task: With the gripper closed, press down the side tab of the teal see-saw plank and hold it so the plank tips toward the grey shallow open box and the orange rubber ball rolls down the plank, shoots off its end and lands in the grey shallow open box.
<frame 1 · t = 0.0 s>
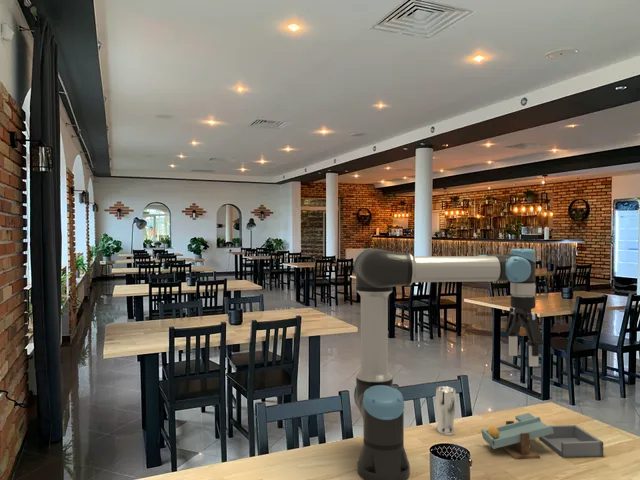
hand: (522, 360, 157), 28 cm above the table, fingers open, 13 cm apart
lever: (511, 427, 157), point 6 cm above the table, hinge at -12.0°, touching ball
grey shallow open box: (569, 447, 156), on the table
fulcrum: (517, 449, 154), on the table
ball: (493, 432, 154), point 6 cm above the table, tilted 19°, touching lever
beer glass: (445, 432, 169), on the table
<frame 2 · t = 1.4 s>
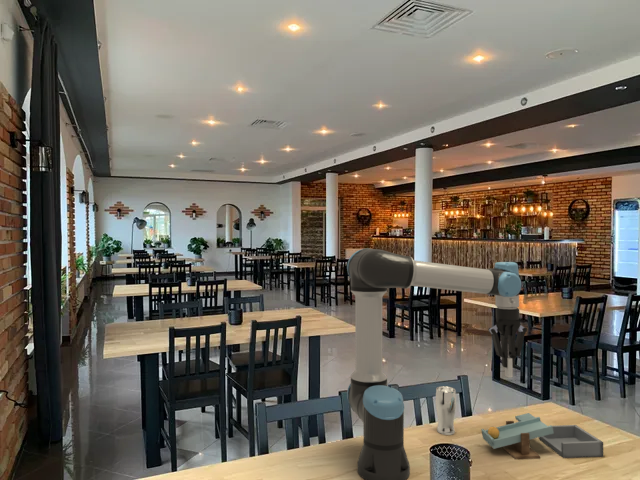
hand: (508, 376, 163), 21 cm above the table, fingers closed
nothing on the table moved.
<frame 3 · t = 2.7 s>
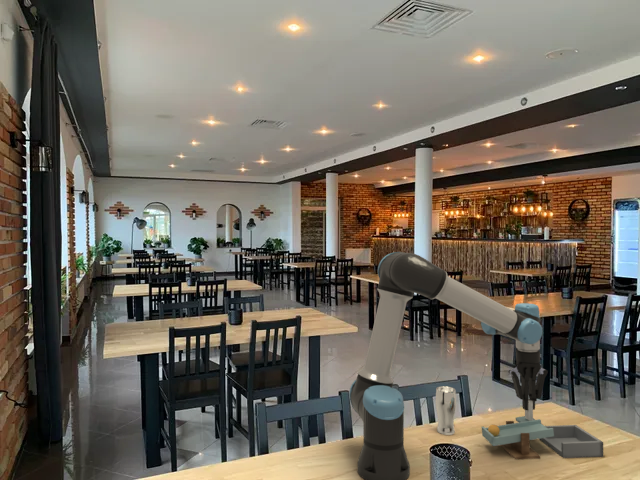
hand: (529, 419, 162), 7 cm above the table, fingers closed
lever: (512, 427, 158), point 6 cm above the table, hinge at -6.9°, touching ball, gripper
ball: (493, 430, 154), point 6 cm above the table, tilted 14°, touching lever
everything else where it was.
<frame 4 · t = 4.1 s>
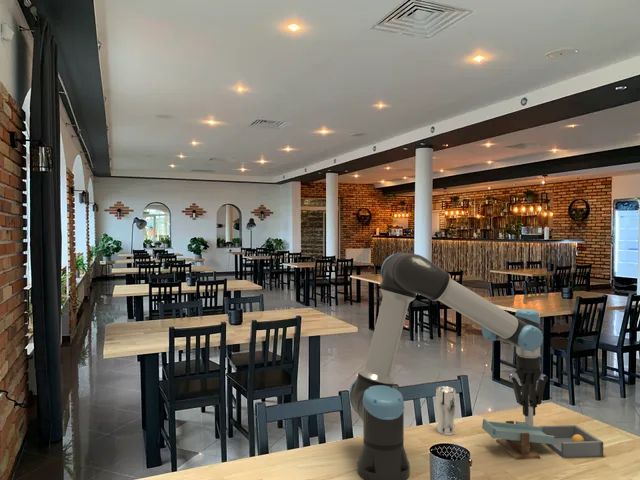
hand: (529, 425, 162), 5 cm above the table, fingers closed
lever: (512, 427, 158), point 6 cm above the table, hinge at 7.8°, touching gripper
ball: (578, 440, 156), point 2 cm above the table, tilted 112°, touching grey shallow open box
everything else where it was.
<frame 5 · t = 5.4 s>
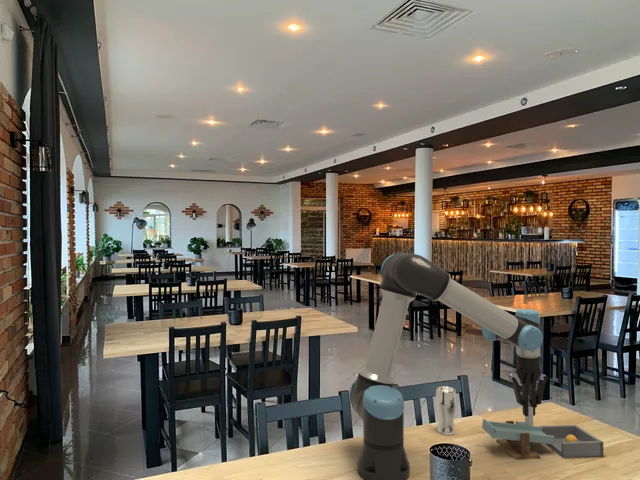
hand: (529, 425, 162), 5 cm above the table, fingers closed
ball: (571, 440, 156), point 2 cm above the table, tilted 173°, touching grey shallow open box
everything else where it was.
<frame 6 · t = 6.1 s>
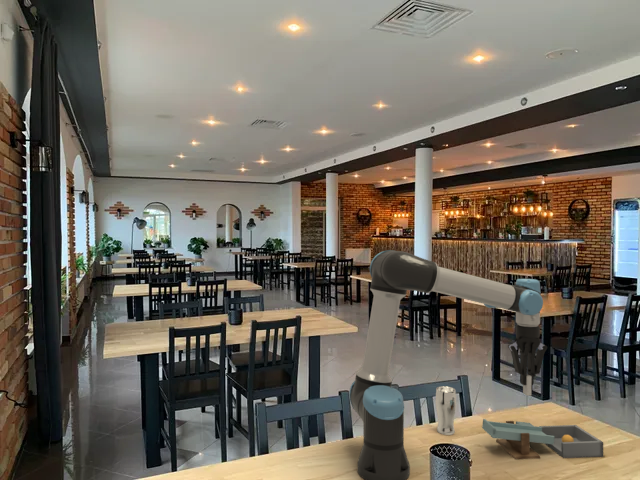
hand: (527, 394, 162), 15 cm above the table, fingers closed
lever: (512, 427, 158), point 6 cm above the table, hinge at 7.8°
ball: (567, 440, 156), point 2 cm above the table, tilted 133°, touching grey shallow open box
everything else where it was.
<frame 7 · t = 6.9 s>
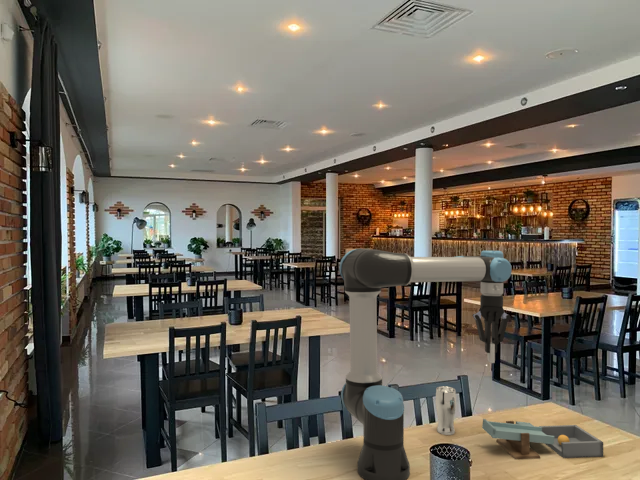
hand: (490, 361, 168), 25 cm above the table, fingers closed
ball: (563, 440, 155), point 2 cm above the table, tilted 87°, touching grey shallow open box
everything else where it was.
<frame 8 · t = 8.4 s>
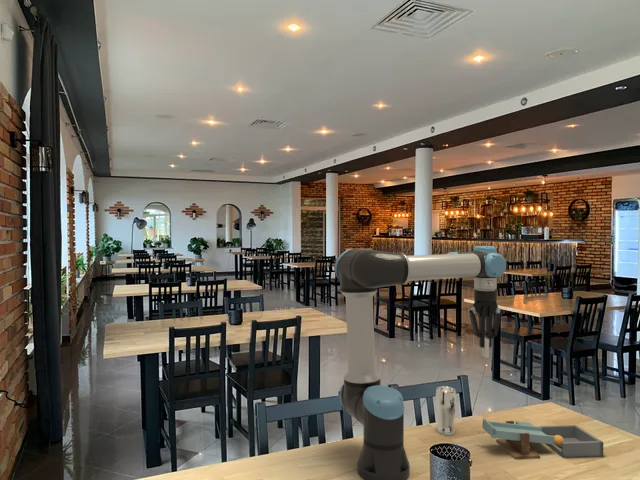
hand: (485, 356, 169), 26 cm above the table, fingers closed
ball: (558, 440, 155), point 2 cm above the table, tilted 27°, touching grey shallow open box
everything else where it was.
at the end: ball inside the target area on the grey shallow open box (3.9 cm from its centre), point 2.3 cm above the grey shallow open box's base; ball touching grey shallow open box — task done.
